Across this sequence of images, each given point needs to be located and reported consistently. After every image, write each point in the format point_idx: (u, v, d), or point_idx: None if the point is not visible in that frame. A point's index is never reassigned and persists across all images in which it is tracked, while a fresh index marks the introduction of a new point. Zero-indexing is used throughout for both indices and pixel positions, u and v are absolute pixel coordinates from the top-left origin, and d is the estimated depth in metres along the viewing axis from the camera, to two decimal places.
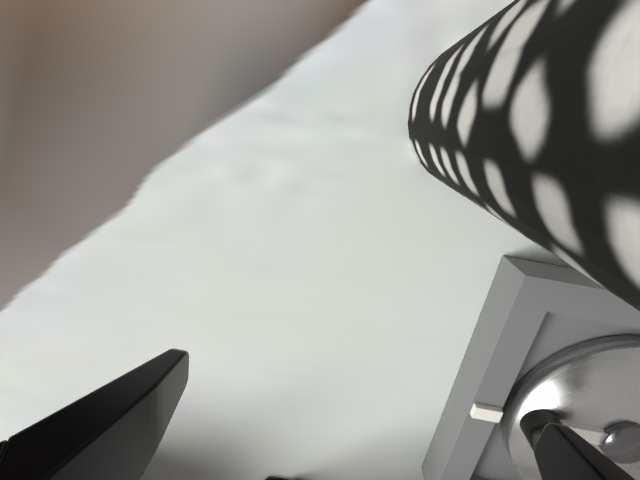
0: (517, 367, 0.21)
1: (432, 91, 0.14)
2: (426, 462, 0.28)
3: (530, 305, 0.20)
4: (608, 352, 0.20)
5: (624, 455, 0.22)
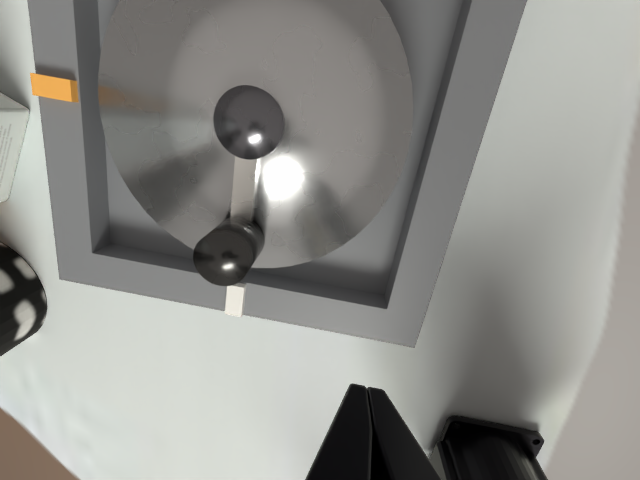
0: (167, 271, 0.18)
1: None
2: None
3: (89, 269, 0.18)
4: None
5: (265, 125, 0.14)
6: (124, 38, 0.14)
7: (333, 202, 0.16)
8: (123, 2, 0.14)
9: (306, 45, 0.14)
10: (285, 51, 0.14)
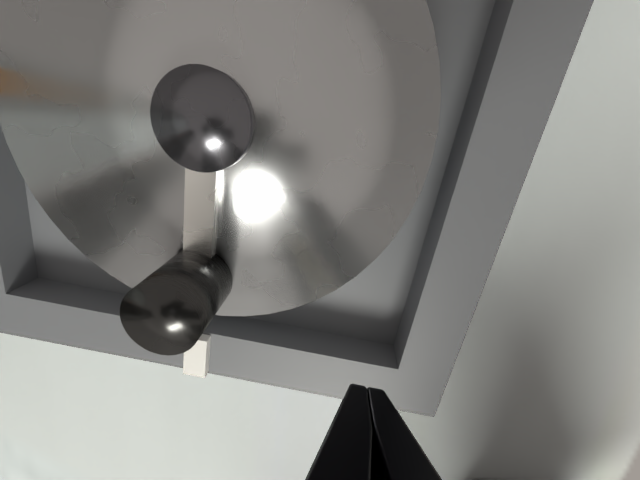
0: (106, 318, 0.13)
1: None
2: None
3: (4, 314, 0.14)
4: None
5: (225, 123, 0.10)
6: None
7: (325, 231, 0.11)
8: None
9: (283, 3, 0.09)
10: (253, 14, 0.09)
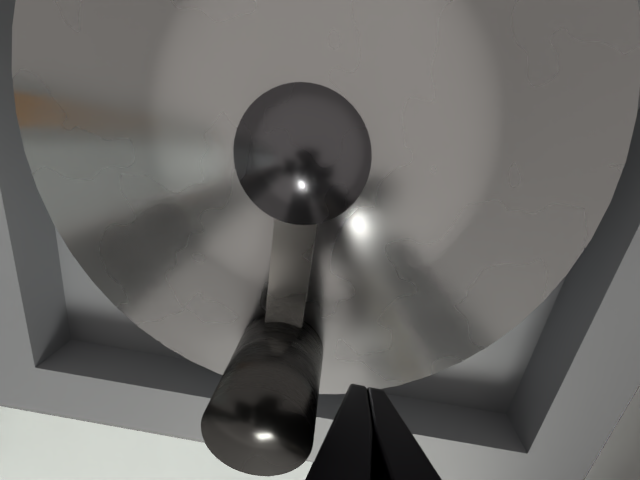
0: (159, 394, 0.11)
1: None
2: None
3: (33, 391, 0.11)
4: None
5: (336, 160, 0.07)
6: None
7: (452, 292, 0.09)
8: None
9: None
10: (379, 11, 0.07)
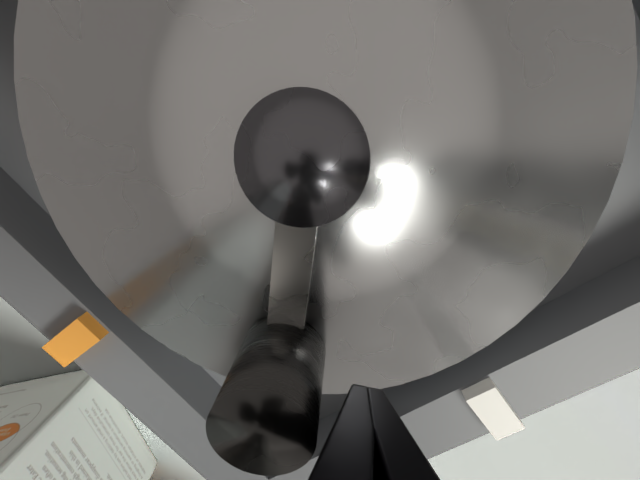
0: None
1: None
2: None
3: None
4: None
5: (336, 163, 0.07)
6: (55, 7, 0.07)
7: (452, 291, 0.09)
8: None
9: None
10: (376, 15, 0.07)
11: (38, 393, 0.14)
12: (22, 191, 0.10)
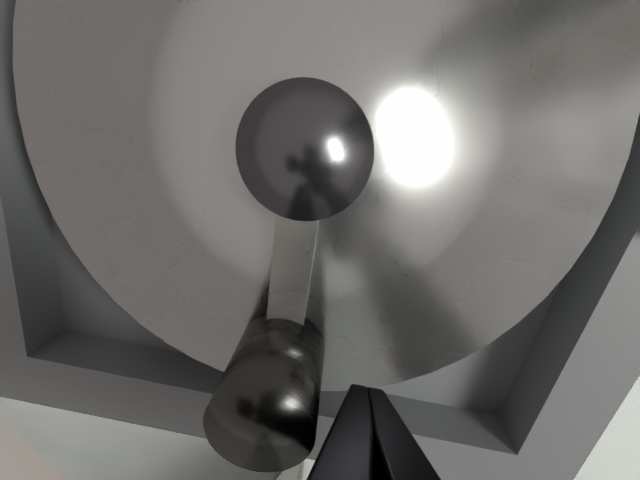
0: (582, 348, 0.09)
1: None
2: None
3: (547, 466, 0.11)
4: None
5: (339, 156, 0.07)
6: None
7: (454, 288, 0.09)
8: None
9: None
10: (382, 6, 0.07)
11: None
12: (154, 349, 0.12)
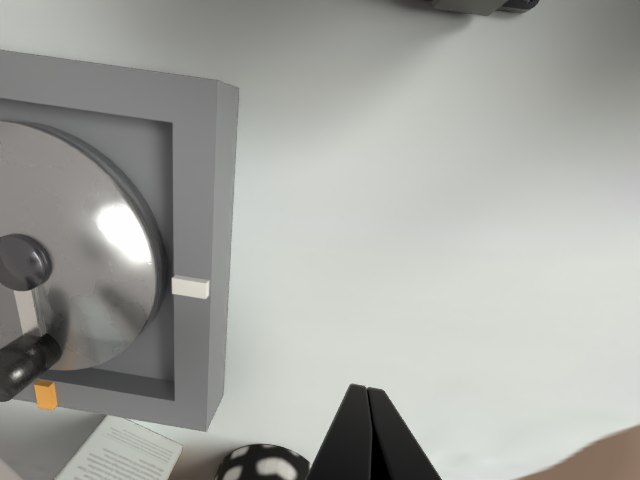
0: (177, 343, 0.19)
1: None
2: (235, 111, 0.17)
3: (191, 406, 0.20)
4: None
5: (27, 265, 0.17)
6: None
7: (106, 317, 0.18)
8: None
9: (49, 202, 0.16)
10: (34, 207, 0.17)
11: None
12: None
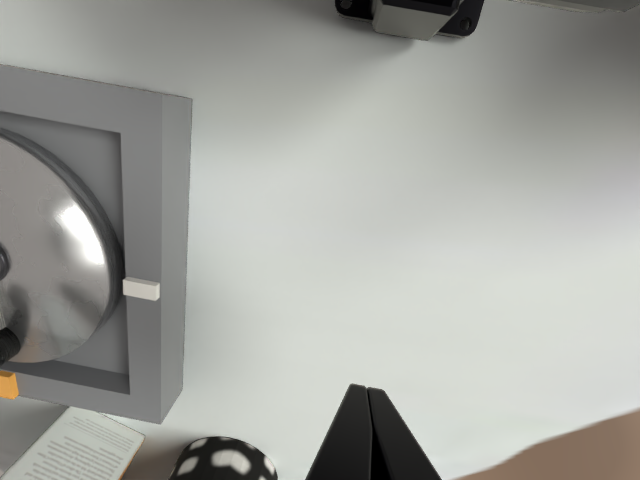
0: (131, 341, 0.20)
1: None
2: (187, 121, 0.18)
3: (145, 400, 0.21)
4: None
5: None
6: None
7: (62, 314, 0.19)
8: None
9: (4, 203, 0.17)
10: None
11: None
12: None
